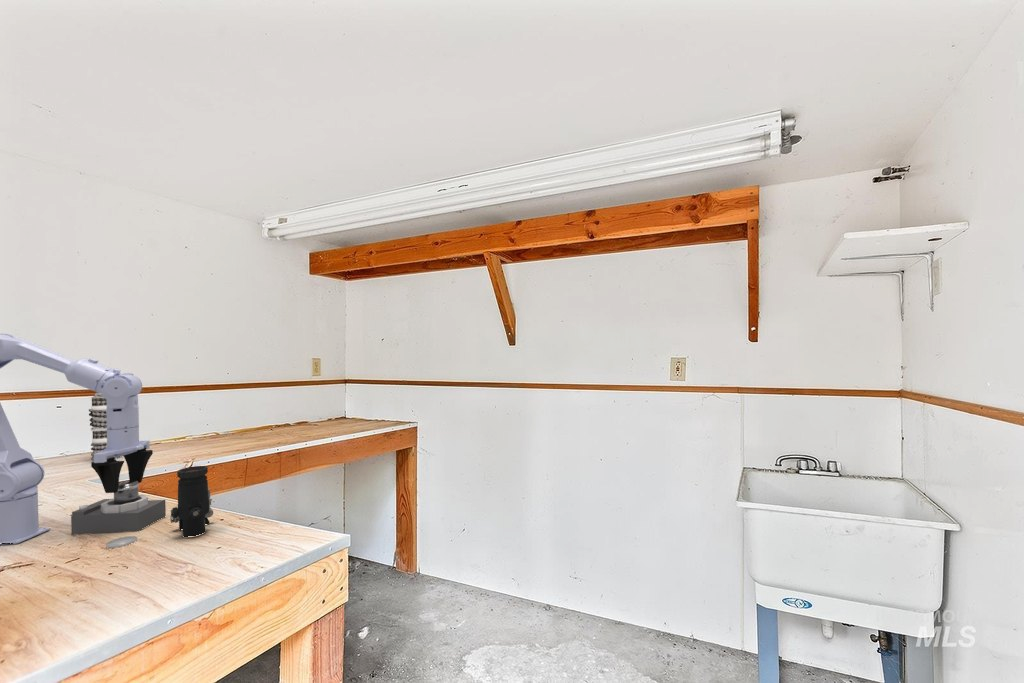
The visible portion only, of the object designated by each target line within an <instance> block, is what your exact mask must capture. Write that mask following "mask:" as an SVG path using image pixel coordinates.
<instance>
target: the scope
mask: <svg viewBox="0 0 1024 683" xmlns="http://www.w3.org/2000/svg"><path fill="white" fill-rule="evenodd" d="M208 468H209V467H208V466H206V465H195V466H188V467H184V468H183V467H182V468H181V469H178V470H177V473H176V474H177V478H179V479H178V480H177V506H173V507H172V509H170V520H169V521H170V524H173V523H174V524H177V523H178V529H180V530H181V529H183V530H182V537H183V536H184V537H188V536H196V535H199V534H202V533H204V532H205V533H206V525H205V524H208V525H210V520H209V518H211V517H213V515H214V509H212V507H211V506H212V501H213V499H212V498H211V489H210V488H209V482H208V475H207V474H208V470H209V469H208ZM180 530H179V531H180ZM205 533H204V534H205ZM184 537H183V538H184Z"/></svg>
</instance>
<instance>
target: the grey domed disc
mask: <svg viewBox="0 0 1024 683" xmlns="http://www.w3.org/2000/svg"><path fill="white" fill-rule="evenodd" d="M135 541H136V542H138V537H137V536H136V535H130V536H127V535H126V536H123V537H118V538H115V539H112V540H110V541H107V542H106V543H105V547H106V548H107V547H108V548H107V549H116V548H115V547H119V548H122V546H124V547H126V545H127V546H130V545H132V544H131V543H133V544H134V542H135ZM136 542H135V543H136ZM129 544H130V545H129Z"/></svg>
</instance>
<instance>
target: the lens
mask: <svg viewBox="0 0 1024 683" xmlns="http://www.w3.org/2000/svg"><path fill="white" fill-rule="evenodd" d="M139 485H140V483H138V480H123V481H119V487H118V491H117V492H116V493H113V499H114V505H122V504H126V503H131V502H135V501H137V500H139V495H140V493H139Z"/></svg>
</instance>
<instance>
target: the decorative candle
mask: <svg viewBox="0 0 1024 683" xmlns="http://www.w3.org/2000/svg"><path fill="white" fill-rule="evenodd" d="M90 407H91V408H89V409H88V412H89V413H88V415H89V417H90V418H89V426H90V427H91V428H90V432H92V437H91V443H90V446H91V448H90V450H91V451H92V452H91V453H90V456H92V457H91V458H90V460H91V462H94V454H96V453H98V452H101V451H102V450H104V449H106V448H107V415H106V408H107V402H106V399H105V398H104V397H103V396H102V394H101V393H98V392H96V393H95V394H94V395H93V396H92V397H91V406H90ZM115 460H116V461H122V456H120V457H117V458H115Z"/></svg>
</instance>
